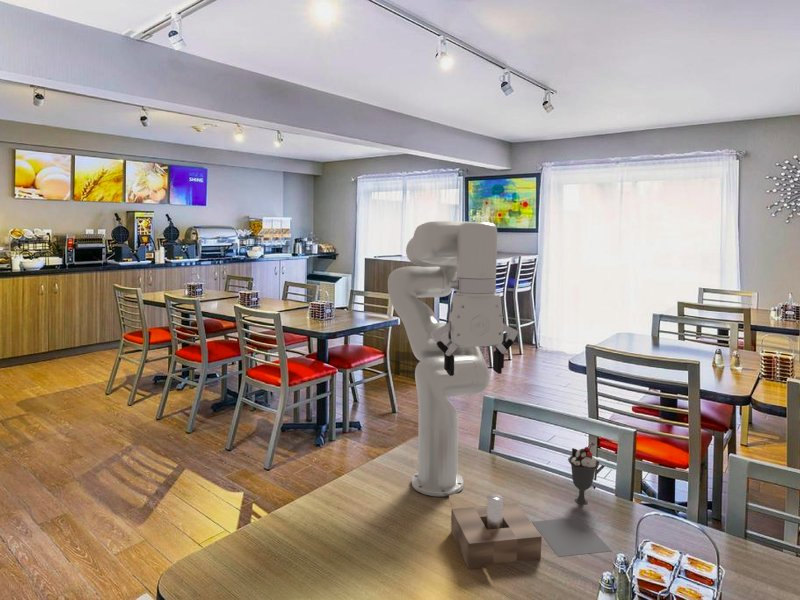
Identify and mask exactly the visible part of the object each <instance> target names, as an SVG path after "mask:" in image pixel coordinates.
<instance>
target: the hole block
mask: <svg viewBox="0 0 800 600" xmlns="http://www.w3.org/2000/svg"><path fill="white" fill-rule="evenodd" d="M450 512H451V515H450V517H451V522H450V526H451V527H450V532H451V534H452V537H453V539H454V542H455V543H456V545H457V547H458V550H459V552H460V554H461V556H462V559H463V561H464V562H465V564H466V568H467V569H468V570H473V569H481V568H483V569H484V568H486V566H487V565H494V564H503V563H512V562H521V561H522V562H523V561H532V560H541V558H542V539H543V536H542V535H541V533H540V532H539V531H538V529H537V528H536V527H535V525H534V524H533V523H532V521H531V520H530V519H529V518H528V516H527V515H526V513H525V512H524V511H523V510H522V508H521V507H520V505H519V504H518V503H506V504H504V503H503V526H502V528H500V529H489V530H487V505H484V506H483V505H482V506H471V507H458V508H451V511H450Z"/></svg>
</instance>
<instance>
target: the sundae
mask: <svg viewBox="0 0 800 600" xmlns="http://www.w3.org/2000/svg"><path fill="white" fill-rule="evenodd" d="M593 446H595V443H593V442H591V444H589V445H588V446H584V447H583V448H580V449H576V448H574V447H572V448H571V455H570V457H568V459H567V461H568V463H569V464H570V468H571V477H572V478H571V479H572V483H573V485H574V486H575V488H577V489H578V491H579V492H578V497H577V498H575V499H574V502H575V503H576V504H578V505H581V506H586V505H588V504H589V501H588V500H587V499H586V497H585V491H588V490H589V489H590V488H592V484H593V482H594V477H595V472H596V469H598V468H599V467H600V461H599V460H597V459H595V457H594V456H593V452H591V447H593Z"/></svg>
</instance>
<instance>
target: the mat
mask: <svg viewBox="0 0 800 600" xmlns="http://www.w3.org/2000/svg"><path fill="white" fill-rule="evenodd" d="M531 523H532V524H533V526H534V527H535V528H536V530H537V531H538V532H539V534H540V535H541V536H542V538H543V539H544V540H545V541H546V543H547V544H548V545H549V546H550V548H551V549H552V551H553V552H554V553H555V554H556V556H557V557H559V558H560V557H570V556H577V555H588V554H589V555H590V554H597V553H607V552H609V553H610V552H613V550H612V549H611V548H610V547H609V546H608V545H607V544H606V542H605V541H604V540H603V539H602V538H601V537H600V536H599V535H598V534H597V533H596V532H595V531H594V529H592V528H591V527H590V526H589V524H587V522H586V521H585V520H584V519H583V518H582V517H581V516H580V517H579V516H578V517H576V516H575V517H567V518H566V517H565V518H557V519H556V518H555V519H554V518H553V519H545V520H535V521H534V520H533V521H531Z"/></svg>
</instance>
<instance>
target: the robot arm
mask: <svg viewBox="0 0 800 600" xmlns="http://www.w3.org/2000/svg"><path fill="white" fill-rule="evenodd" d="M405 248H406V249H405V253H406V257H407V259H408V260H409V262H410V263H411V264H413V265H411V266H409V265H408V266H402V267H399V268H395V269H394V270H392V271H391V272H390V274H389V276H388V278H387V291H388V296H389V300H390V303H391V306H392V307H393V309H394V310H395V313H396V314H397V315H398V317H399V319H400V320H401V322H402V323H403V326H404V329H405V332H406V336H407V340H408V342H409V346H410V348H411V351H412V353H413V355H414V357H415V358H416V359H417V360H418V361H419V362H418V363H417V364H416V366H415V369H414V370H415V371H414V378H415V385H416V393H417V405H418V408H417V409H418V432H417V433H418V434H417V435H418V441H417V443H418V444H417V448H418V449H417V450H418V451H417V452H418V453H417V472H416V473H414V474H413V475H412V477H411V486H412V488H413V489H414V490H415V491H417V492H418V493H421V494H423V495H426V496H431V497H439V498H440V497H448V496H449V495H453V494H455V495H456V494H458V493H459V492H460V491H462V490H463V488H464V485H465V484H464V483H465V482H464V481H465V480H464V478H463V477H462V475H461V474H459V473H458V464H459V463H458V462H459V461H458V458H459V456H458V455H459V413H458V410H457V408H456V407H455V406H454V404H452V403H451V401H450V400H449V398H451V397H460V396H461V397H462V396H470V395H478V394H482V393H483V392H485V391H486V390H487V389H488V387H489V383H490V372H489V368H488V364H487V362H486V359H485V357H484V355H483V353H482V350H481V348H480V347H494V348H495V350H493V353H492V370H493V371H494V372H496V373H497V374H498V375H501V374H502V373H503V371H502V369H504V368H505V367H504V366H505V354H507V351H508V350H509V349H510V348H511V347H512V346H513V344H514V341H516V337H517V336H518V333H519V331H518V330H517V329H514V327H511V326H509V325H507V324H505V323H504V317H503V316H504V315H503V307H502V299H501V295H500V294H499V293H496V287H497V286H496V285H497V260H498V259H497V258H498V257H497V256H498V254H497V252H498V228H497V225H496V224H495V223H492V222H483V221H481V222H480V221H479V222H478V221H451V220H450V221H448V220H447V221H445V220H443V221H428V222H424V223H422V224H420V225H417V227H416V228H415V230H414V232H413V237H411V238H410V239H409V241H408V242H407V244H406V247H405ZM453 290H455V292H454V293H453V294H452V297H451V302H450V308H449V315H448V322H447V323H443V322H442V323H441V322H439V321H438V320H437V316H436V315H435V312H434V311H433V309H432V308H431V307H430V306H429V305H428V304H427V303H425V302H423V301H422V300H420V299H421V298H424V299H425V298H443V297H447V296H449V295H450V294H451V293H452V292H453ZM419 298H420V299H419ZM504 332H506V333H507V335H506V338H505V339H504ZM449 497H450V496H449Z"/></svg>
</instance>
